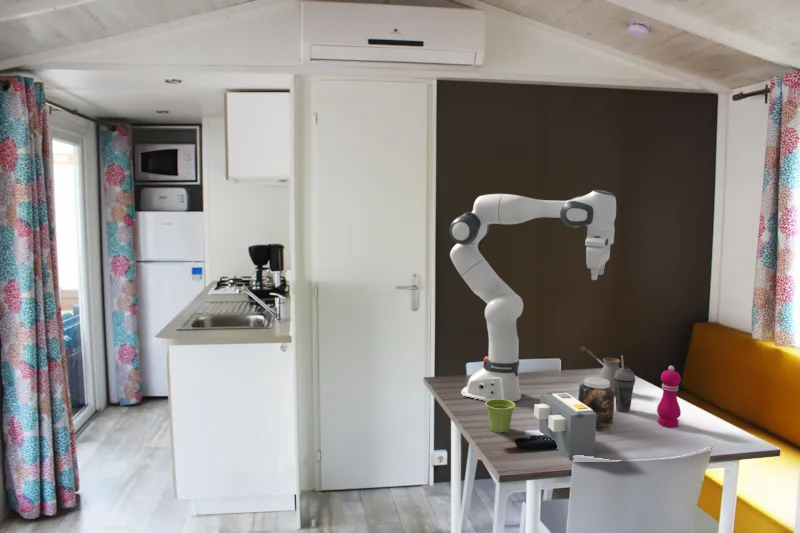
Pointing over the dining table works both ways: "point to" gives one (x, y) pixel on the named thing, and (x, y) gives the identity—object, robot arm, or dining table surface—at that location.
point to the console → (571, 425)
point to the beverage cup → (624, 388)
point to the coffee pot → (607, 368)
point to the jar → (598, 400)
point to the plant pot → (499, 414)
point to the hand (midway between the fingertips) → (597, 277)
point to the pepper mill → (669, 399)
